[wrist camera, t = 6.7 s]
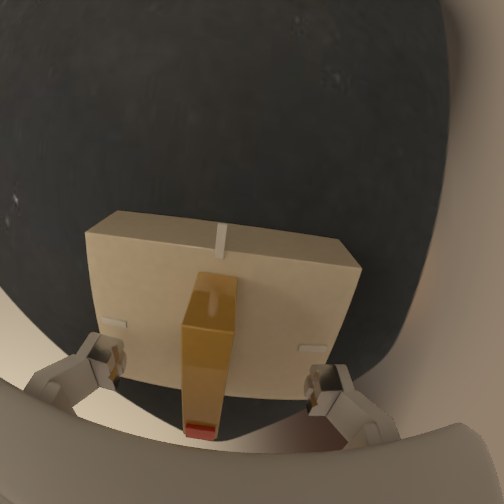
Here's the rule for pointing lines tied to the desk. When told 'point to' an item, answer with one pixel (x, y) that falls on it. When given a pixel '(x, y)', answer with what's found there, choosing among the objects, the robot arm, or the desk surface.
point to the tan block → (248, 296)
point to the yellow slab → (207, 352)
